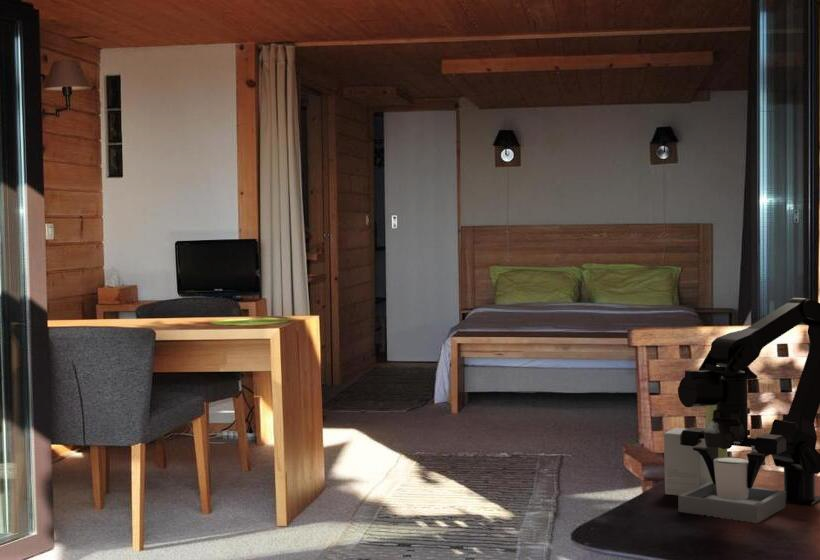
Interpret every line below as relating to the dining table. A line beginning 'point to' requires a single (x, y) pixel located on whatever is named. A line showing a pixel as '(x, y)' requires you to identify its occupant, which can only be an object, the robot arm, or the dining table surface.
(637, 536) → the dining table surface
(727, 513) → the tray
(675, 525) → the dining table surface
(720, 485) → the white cup
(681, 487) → the supplement box
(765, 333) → the robot arm
